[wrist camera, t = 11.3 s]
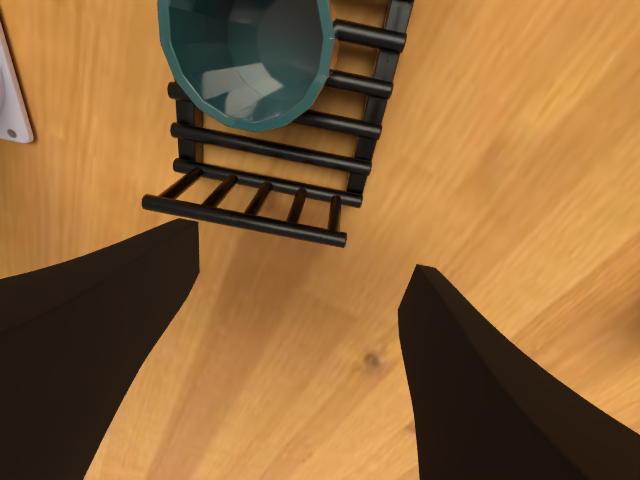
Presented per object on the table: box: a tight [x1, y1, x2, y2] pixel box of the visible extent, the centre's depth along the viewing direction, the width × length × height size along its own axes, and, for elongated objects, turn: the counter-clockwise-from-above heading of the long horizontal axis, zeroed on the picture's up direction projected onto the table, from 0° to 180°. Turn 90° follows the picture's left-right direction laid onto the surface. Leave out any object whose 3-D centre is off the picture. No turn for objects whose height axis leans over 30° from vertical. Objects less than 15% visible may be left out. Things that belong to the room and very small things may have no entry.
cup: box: [157, 0, 339, 132], centre depth 12 cm, size 5×5×6 cm
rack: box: [142, 0, 414, 248], centre depth 13 cm, size 11×15×7 cm
